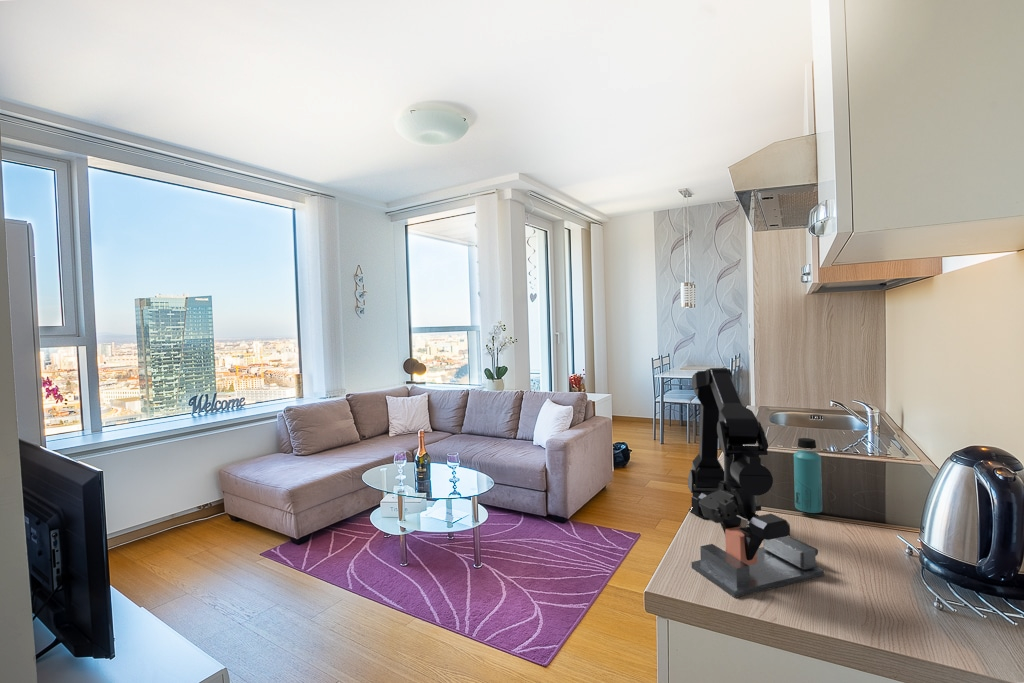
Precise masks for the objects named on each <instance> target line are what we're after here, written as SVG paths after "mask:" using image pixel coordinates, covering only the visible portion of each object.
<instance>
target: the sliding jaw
mask: <svg viewBox="0 0 1024 683" xmlns="http://www.w3.org/2000/svg"><path fill="white" fill-rule="evenodd" d="M762 543H763V547H764V549H766V550H768V551H770V552H771V553H773V554H775V555H777V556H779V557H781V558H783V559H785V560H787V561H789V562H790V563H792V564H794V565H796V566H798V567H800V568H802V569H804V570H805V569H810V568H814V567H816V566H817V564H816V562H817V560H816V557H817V555H818V554H819V550H818V548H817V547H815V546H812V545H810V544H807V543H806V542H804V541H802V540H799V539H797V538H795V537H793V536H785V537H780V538H775V539H771V540H766V539H764V540H763V541H762Z"/></svg>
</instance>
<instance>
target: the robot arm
mask: <svg viewBox="0 0 1024 683" xmlns="http://www.w3.org/2000/svg"><path fill="white" fill-rule="evenodd" d="M691 386H692V390H694V394H695V396H696V397H697V399H698V401H699V402H700V407H699V408H700V411H699V412H700V414H699V415H700V416H699V438H698V440H699V441H698V442H699V443H698V444H699V447H698V454H697V455H696V457H694V459H693V460H692V462H691V469H690V470H689V473H688V476H687V488H688V490H689V492H690V493H691V494H692V495H691V508H692V507H693V508H692V510H691V508H689V509H688V511H689V512H690V510H691V512H690V513H692V514H694V515H696V516H698V517H700V518H702V519H704V520H708V519H709V520H711V521H712V522H713V523H716V524H720V526H721V528H722V531H723V533H724V534H725V529H728V528H733V527H739V526H741V525H742V524H741V523H742V520H744V521H746V522H747V524H746V526H742V527H743V528H739V530H740V531H741V532H742V533H743V534H744V537H745V552H746V558H747V560H752V559H753V557H754V556H755V554H756V552H757V550H758V548H760V546H761V544H762V543H763V540H764V539H766V540H771V539H775V538H780V537H785V536H787V537H791V526H790V525H791V524H790V523H789V522H788V521H787V520H786V519H784V518H782V517H780V516H778V515H775V514H772V513H768V514H761V515H759V514H757V512H760V511H762V505H761V504H759V503H757V496H762V495H764V494H766V493H768V492H769V491H770V490H771V488H772V486H773V483H774V482H773V481H774V477H773V475H772V472H771V471H770V470H769V469H768V468H767V467H766V466H765V465H764V464H762V462H761V461H762V460H761V459H762V458H761V457H760V456H768V452H769V451H768V448H769V444H768V440H767V436H766V434H765V430H764V428H763V426H762V424H761V422H760V421H759V420H758V418H757V417H756V415H755V413H754V412H753V411H752V410H751V409H749V408H747V407H745V406H744V404H743V403H742V401H741V399H740V396H739V393H738V391H737V388H736V386H735V383H734V381H733V374H732V371H731V369H730V368H727V367H710V368H707V369H706V370H698V371H696V372H695V373H694V374H693V375H692V376H691ZM756 444H757V445H756ZM719 445H720V448H721V451H722V453H723V465H722V464H721V462H720V460H719V459H718V453H719V452H718V451H719Z"/></svg>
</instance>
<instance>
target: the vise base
mask: <svg viewBox="0 0 1024 683" xmlns="http://www.w3.org/2000/svg"><path fill="white" fill-rule="evenodd" d="M690 563H691V568H692V569H693V570H694V571H695V572H697V573H699V574H700V575H702V576H703V577H705V579H707V580H709V582H711V583H713V584H714V585H716V586H717V587H719V589H721V590H723V591H724V592H726V593H727V594H729V595H730V596H731V595H732V596H731V597H732V598H734V599H735V597H736V598H739V596H740V597H743V596H748V595H752V594H755V593H761V592H763V591H768V590H773V589H777V588H781V587H783V586H788V585H792V584H796V583H797V584H798V583H802V582H805V581H809V580H813V579H818V578H822V577H824V576H825V570H824V569H823V568H821V567H819V566H817V565H816V567H814V568H810V569H805V570H804V569H802V568H800V567H798V566H796V565H794V564H792V563H790V562H789V561H787V560H785V559H783V558H781V557H779V556H777V555H775V554H773V553H771V552H770V551H768V550H766V549H764V546H762V547H759V548H758V550H757V564H753V565H747V564H746V563H744V562H742V561H740V560H739V559H737V558H735V557H734V556H732V555H730V554H729V553H727V552H726V550H723V549H722V548H721V547H718V546H717V545H716V544H713V543H710V544H705V545H704V544H703V545H700V560H695V561H691V562H690Z"/></svg>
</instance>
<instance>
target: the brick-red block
mask: <svg viewBox="0 0 1024 683" xmlns="http://www.w3.org/2000/svg"><path fill="white" fill-rule="evenodd" d="M743 527H744V526H741V525H740V526H739V527H733V528H728V529H725V533H724V536H725V552H727V553H729V554H730V555H732V556H734V557H735V558H737V559H739V560H740V561H742V562H744V563H746V564H747V565H753V564H757V552H756V554H755V556H754V557H753V559H752V560H747V558H746V552H745V537H744V534H743V533H742V532H741V531H740V530H739V528H743Z"/></svg>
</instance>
